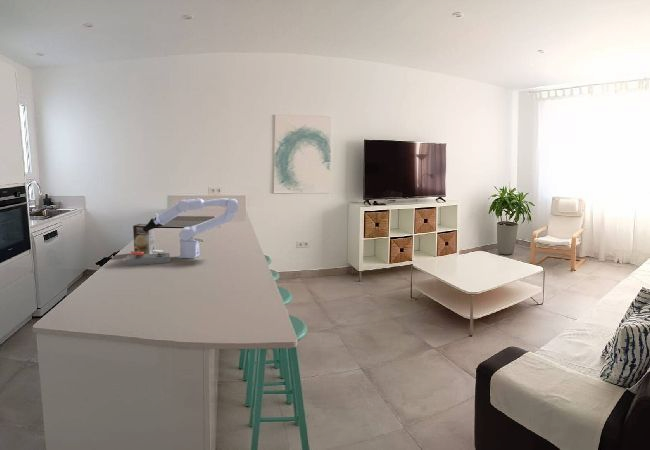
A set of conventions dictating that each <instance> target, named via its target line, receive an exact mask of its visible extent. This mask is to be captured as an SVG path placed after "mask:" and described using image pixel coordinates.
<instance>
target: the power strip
mask: <svg viewBox="0 0 650 450" xmlns="http://www.w3.org/2000/svg"><path fill="white" fill-rule="evenodd" d="M166 263H167V264H168V263H171V255H170V252H165V254H160V253H154V254H144V255H133V254H130V255H126V257H125V266H139V265H152V264H153V265H154V264H166Z"/></svg>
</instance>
